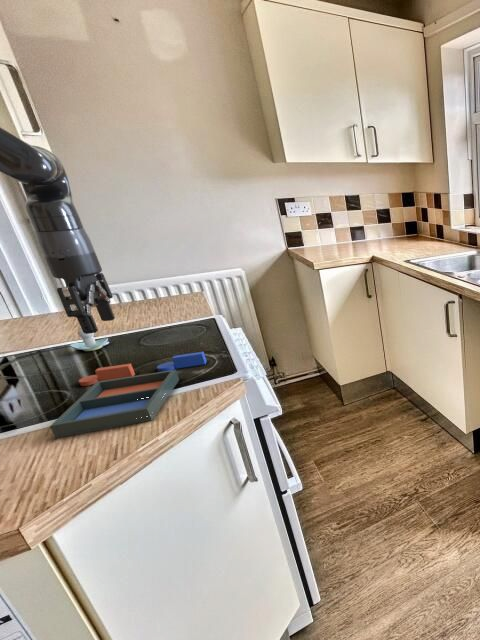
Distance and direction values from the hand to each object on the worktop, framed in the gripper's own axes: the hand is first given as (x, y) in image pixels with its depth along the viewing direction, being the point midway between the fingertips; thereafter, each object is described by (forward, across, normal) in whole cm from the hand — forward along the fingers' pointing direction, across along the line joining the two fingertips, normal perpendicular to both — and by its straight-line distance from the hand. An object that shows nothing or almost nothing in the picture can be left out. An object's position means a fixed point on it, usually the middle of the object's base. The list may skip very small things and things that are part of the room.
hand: (100, 326), depth 92 cm
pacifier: (+13, -24, -14) cm, 31 cm away
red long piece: (+12, 0, -2) cm, 13 cm away
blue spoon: (+12, 0, +12) cm, 17 cm away
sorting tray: (+12, +16, +6) cm, 21 cm away
